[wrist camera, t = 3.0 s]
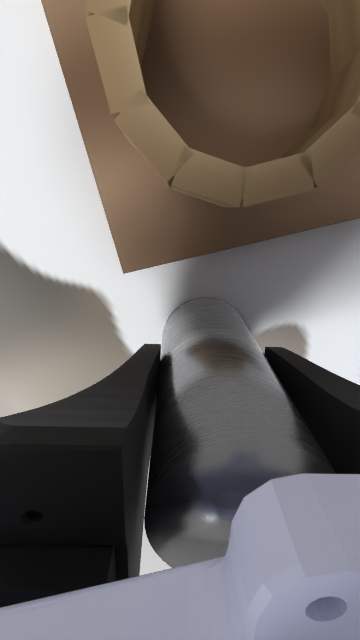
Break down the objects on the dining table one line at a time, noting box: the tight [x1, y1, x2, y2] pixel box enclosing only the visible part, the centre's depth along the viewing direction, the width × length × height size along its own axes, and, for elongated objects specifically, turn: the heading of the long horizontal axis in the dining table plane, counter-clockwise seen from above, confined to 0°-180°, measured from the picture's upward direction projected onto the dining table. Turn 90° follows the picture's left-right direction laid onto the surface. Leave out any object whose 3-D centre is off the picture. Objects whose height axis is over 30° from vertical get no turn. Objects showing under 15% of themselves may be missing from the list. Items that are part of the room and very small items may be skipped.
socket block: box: [41, 0, 360, 274], centre depth 9 cm, size 11×11×4 cm
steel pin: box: [144, 298, 336, 568], centre depth 10 cm, size 4×4×9 cm
